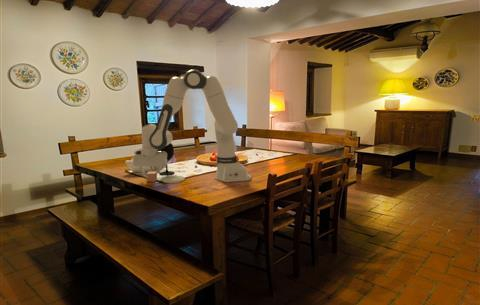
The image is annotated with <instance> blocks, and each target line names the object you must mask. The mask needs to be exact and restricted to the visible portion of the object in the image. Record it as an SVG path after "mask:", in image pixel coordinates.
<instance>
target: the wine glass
mask: <svg viewBox="0 0 480 305" xmlns="http://www.w3.org/2000/svg"><path fill="white" fill-rule="evenodd" d="M157 151H165V152H166V153H167V165H166V166H165V170H164V171H160V173H158V174H160V176H163V175H167V176H173V175H175V174H176V173H175V171H171V170H169V169H168V163H169V161H170V160H172V158H173V157H174V154H175V153H174V151H175V150H174V145H173V143H172V142H171V143H170V144H169V145H167V146H165V147H164V148H163V149H160V150H157ZM174 173H175V174H174ZM172 174H173V175H172Z"/></svg>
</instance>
